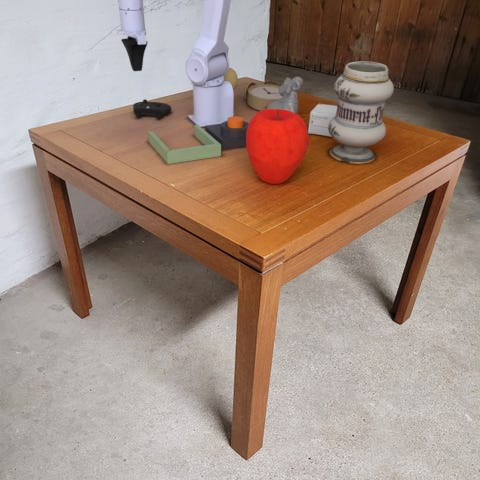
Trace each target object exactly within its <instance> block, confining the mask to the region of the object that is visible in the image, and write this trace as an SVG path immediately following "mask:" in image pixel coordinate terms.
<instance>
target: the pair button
mask: <svg viewBox="0 0 480 480" xmlns="http://www.w3.org/2000/svg"><path fill="white" fill-rule="evenodd" d="M244 122H245V120H244V118H243V117H242V116H236V115H235V116H234V115H233V116H232V117H229V118H228V119H227V127H229V128H242V127H243V125H244Z"/></svg>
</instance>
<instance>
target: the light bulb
mask: <svg viewBox="0 0 480 480" xmlns="http://www.w3.org/2000/svg"><path fill="white" fill-rule="evenodd" d="M224 81H229V82H230V83H231V85H232V88H233V92H234V91H235V90H236V88H237V87H238V82H239V78H238V74H237V71H236V70H235V69H234V68H232V67H229V69H228V72H227V73H226V75H224Z"/></svg>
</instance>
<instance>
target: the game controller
mask: <svg viewBox="0 0 480 480" xmlns="http://www.w3.org/2000/svg"><path fill="white" fill-rule="evenodd" d="M132 109H133V112H134V115H135V117H136V118H137V119H139V118H141V117H142V116H151V117H152V116H153V117H156V118H157V119H158V120H160V119H162V118H163V117H164V115H169V114H170V113H171V112H172V106H171V105H170V104H167V103H164V102H159V101H148V100H147V99H146V98H144V99H142V101H137V102H135V103H133V105H132Z"/></svg>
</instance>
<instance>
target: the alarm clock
mask: <svg viewBox="0 0 480 480" xmlns="http://www.w3.org/2000/svg"><path fill="white" fill-rule="evenodd" d="M280 87H281V85H280V86H279V85H278V84H277V82H275V81H273V80H266V81H265V82H263V83H255V82H254V81H253V82H252V81H251V82H248V83H246V85H245V86H244V87H243V91H242V92H243V97H244V99H245V100H246V101H247V104H248V106H249V107H250V108H252V109H254V110H257V111H261V110H264V109H267V107H268V105H269V104H271V103H272V102H274V101H278V100H277V99H281V98H282V97H283V96H280V94H279V88H280Z"/></svg>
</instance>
